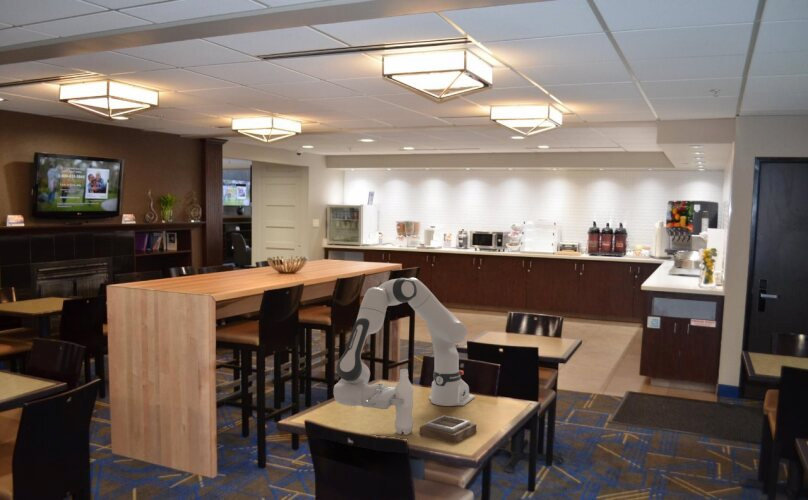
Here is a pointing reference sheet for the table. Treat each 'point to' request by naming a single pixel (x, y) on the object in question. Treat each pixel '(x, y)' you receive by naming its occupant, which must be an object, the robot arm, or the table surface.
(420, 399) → the table surface
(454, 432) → the display stand
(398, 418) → the water bottle
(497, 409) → the table surface
